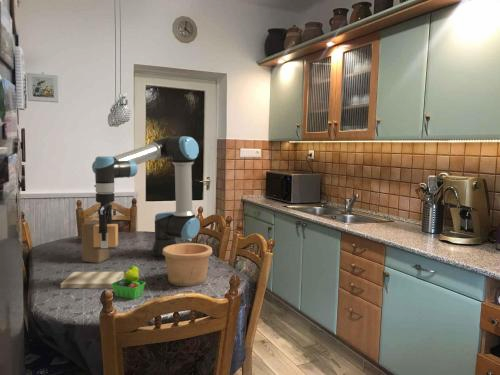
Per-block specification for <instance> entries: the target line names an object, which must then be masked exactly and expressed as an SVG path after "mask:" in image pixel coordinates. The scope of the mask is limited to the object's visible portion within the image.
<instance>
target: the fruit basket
mask: <svg viewBox="0 0 500 375" xmlns="http://www.w3.org/2000/svg"><path fill="white" fill-rule="evenodd" d="M139 271H140V270H139V268H138V267H137V265H133V264H132V265H131V266H130V267H129V268H128V270H127V271H126V272H124V277H125V278H122V279H121V280H119V281H116V282H114V283H112V286H113V288H112V289H113V292H114V295H115V296H116V297H120V298H125V299H132V300H134V299H137V298H139V297H140V296H142V295H143V292H144V288H145V285H146V283H147V282H146V281H142V280H139V276H140V274H139Z"/></svg>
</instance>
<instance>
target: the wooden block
mask: <svg viewBox="0 0 500 375" xmlns="http://www.w3.org/2000/svg"><path fill="white" fill-rule="evenodd" d="M96 224H99V221H98V220H92V221H84V222H83V223H82V224H81V260H82V262H84V263H95V264H100V263H103V262H104V261H106V260H108V259H109V258H110V249H94V235H93V226H94V225H96Z"/></svg>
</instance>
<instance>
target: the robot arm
mask: <svg viewBox="0 0 500 375" xmlns="http://www.w3.org/2000/svg"><path fill="white" fill-rule="evenodd" d="M199 150H200V149H199V144H198V142H197V141H196V140H195V138H193V137H191V136H186V135H185V136H165V137H162V138H158V139H156V140H154V141H150V142H149V143H148V144H147V145H143V146H141V147H138V148H135V149H132V150H129V151H125V152H123V153H120V154H117V155H114V156H108V155H107V156H104V155H103V156H97V157H95V160H94V161H93V162H92V165H91V168H92V172H93V173H94V178H95V180H94V181H95V184H94V185H93V187H94V188H95V192H96V194H95V202H96V203H100V206H99V209H98V211H97V212H98V214H99V232H98V233H101V248H108V233H107V224H113V220H112V219H113V218H112V217H113V216H112V215H113V213H112V210H113V206H112V204H111V203H114V202H115V193H114V192H115V179H119V178H120V179H122V178H128V179H129V178H133V177H135V176H136V175H137V173H138V165H141V164H144V163H146V162H148V161H151V160H154V161H156V160H159V159H171V164H173V165H174V179H175V180H174V184H175V186H174V187H175V191H174V192H175V211H165V212H158V213H156V214H155V216H154V241H153V245H152V247H151V255H153V256H155V257H163V258H164V257H165V256H164V255H163V254H162V251H163V248H165V247H167V246H170V245H173V244H178V241H177V238H178V239H183V240H193V239H194V238H195V237H197V235H198V234H199V232H200V228H201V223H200V222H201V221H200V220H199V219H198V218H197V217H196V212H194V210H193V187H192V186H193V180H192V166H193V165H194V163H195V159H196V158H197V157H198V156H199V152H200V151H199Z"/></svg>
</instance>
